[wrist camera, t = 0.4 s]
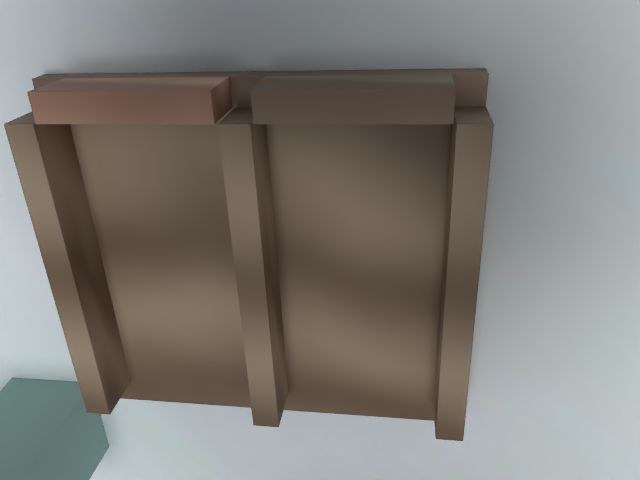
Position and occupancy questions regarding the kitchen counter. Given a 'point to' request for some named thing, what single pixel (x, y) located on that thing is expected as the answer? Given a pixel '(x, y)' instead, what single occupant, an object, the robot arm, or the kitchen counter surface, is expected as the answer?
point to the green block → (48, 432)
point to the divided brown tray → (264, 236)
